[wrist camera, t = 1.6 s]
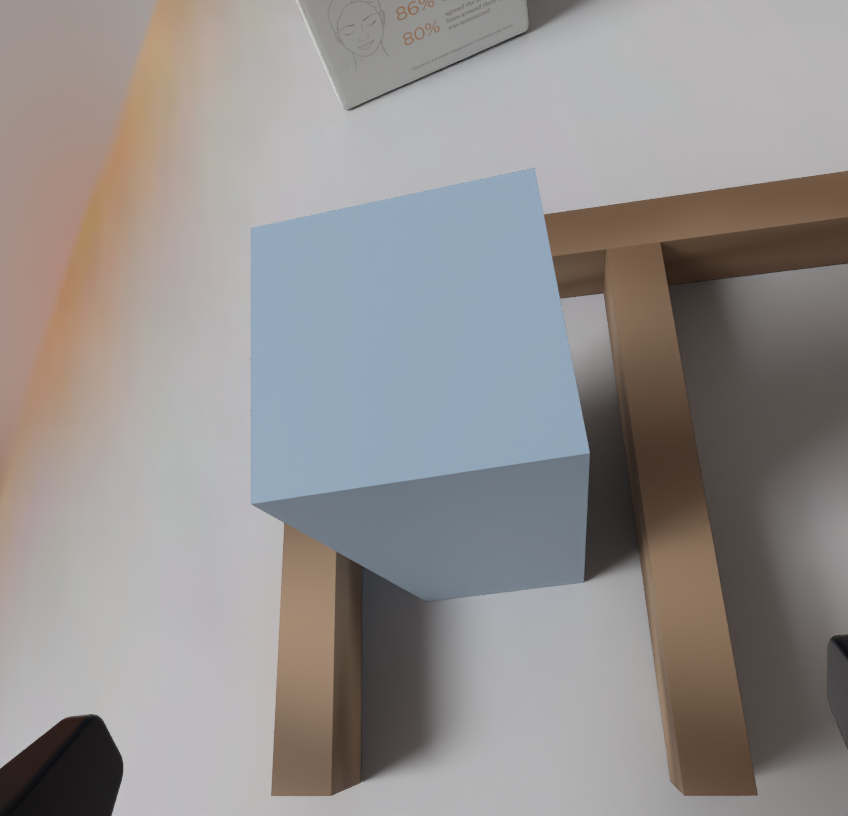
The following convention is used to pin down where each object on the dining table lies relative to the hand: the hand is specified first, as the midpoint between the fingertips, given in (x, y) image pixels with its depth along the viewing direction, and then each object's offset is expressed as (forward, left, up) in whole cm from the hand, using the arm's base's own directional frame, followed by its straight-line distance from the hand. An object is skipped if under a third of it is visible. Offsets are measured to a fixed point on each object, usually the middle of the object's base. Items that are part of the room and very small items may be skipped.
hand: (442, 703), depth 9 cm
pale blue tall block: (+4, -3, -11) cm, 13 cm away
